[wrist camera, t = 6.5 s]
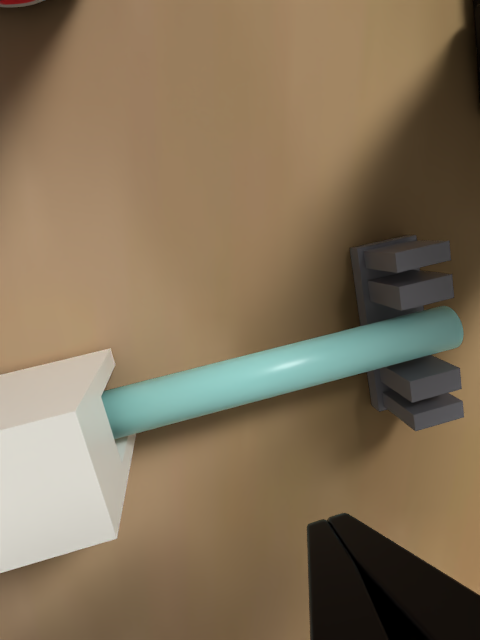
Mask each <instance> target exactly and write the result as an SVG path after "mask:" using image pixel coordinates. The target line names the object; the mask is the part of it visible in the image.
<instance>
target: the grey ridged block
mask: <svg viewBox="0 0 480 640" xmlns="http://www.w3.org/2000/svg"><path fill="white" fill-rule="evenodd" d="M350 254H351V261H352V268H353V276H354V283H355V290H356V297H357V304H358V311H359V318H360V326H364V325H368V324H372V323H376V322H379V321H383V320H387V319H391V318H395V317H399V316H403V315H407V314H411V313H415V312H419V311H423V310H424V307H423V305H427V304H431V303H435V302H439V301H443V300H447V299H451V298H454V291H453V279H452V274H445V273H437V272H429V271H421V270H420V267H424V266H428V265H432V264H437V263H441V262H445V261H449V260H451V255H450V242H449V241H417V238H416V235H405V236H401V237H396V238H392V239H387V240H383V241H379V242H374V243H370V244H365V245H361V246H357V247H352V248H350ZM367 376H368V383H369V390H370V397H371V404H372V406H373V407H374V408H375V409H377V410H378V411H379V412H380V411H383V410H387V409H388V410H389V411H390V412H392V413H393V414H394V415H396V416H397V417H398V418H399V419H401V420H402V421H403V422H404V423H406V424H407V425H408V426H409V427H411V428H412V429H413V430H415V431H418V430H421V429H425V428H428V427H432V426H435V425H439V424H442V423H445V422H449V421H452V420H456V419H459V418H463V417H464V412H463V401H462V400H460V399H458V398H456V397H454V396H453V395H451V394H449V392H452V391H456V390H459V389H462V388H461V376H460V368H459V367H456V366H454V365H452V364H450V363H447V362H445V361H443V360H441V359H438V358H436V357H434V356H432V355H428V356H424V357H421V358H417V359H413V360H409V361H406V362H402V363H398V364H394V365H391V366H387V367H383V368H379V369H376V370H372V371H368V372H367Z"/></svg>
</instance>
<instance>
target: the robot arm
mask: <svg viewBox="0 0 480 640" xmlns="http://www.w3.org/2000/svg"><path fill="white" fill-rule="evenodd" d="M474 14H475V31H476V47H477V64H478V80H479V97H480V0H474ZM307 548H308V580H309V612H310V640H480V595H479V594H477V593H475V592H474V591H472V590H470V589H469V588H467V587H466V586H464V585H462V584H461V583H459V582H457V581H456V580H454V579H453V578H451V577H449V576H448V575H446V574H445V573H443V572H441V571H440V570H438V569H436V568H435V567H433V566H432V565H430V564H428V563H427V562H425V561H424V560H422V559H420V558H419V557H417V556H415V555H414V554H412V553H411V552H409V551H407V550H406V549H404V548H402V547H401V546H399V545H398V544H396V543H394V542H393V541H391V540H390V539H388V538H386V537H385V536H383V535H381V534H380V533H378V532H377V531H375V530H373V529H372V528H370V527H368V526H367V525H365V524H364V523H362V522H360V521H359V520H357V519H356V518H354V517H352V516H351V515H349V514H347V513H342V514H338V515H335V516H332V517H329V518H328V520H324V519H322V520H319V521H316V522H313V523H310V524H308V525H307Z"/></svg>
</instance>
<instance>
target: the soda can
mask: <svg viewBox="0 0 480 640" xmlns="http://www.w3.org/2000/svg"><path fill="white" fill-rule="evenodd" d="M42 1H44V0H0V7H23V6H29V5H33V4H36V3H39V2H42Z"/></svg>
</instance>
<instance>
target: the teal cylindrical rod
mask: <svg viewBox="0 0 480 640" xmlns="http://www.w3.org/2000/svg"><path fill="white" fill-rule="evenodd" d="M462 341H463V327H462V324H461V321H460V319H459V317H458V315H457V314H456V313H455V312H454V310H452V309H451V308H450V307H448V306H439V307H435V308H431V309H427V310H423V311H419V312H415V313H411V314H407V315H403V316H399V317H395V318H391V319H387V320H383V321H379V322H376V323H372V324H368V325H364V326H360V327H356V328H352V329H348V330H344V331H340V332H336V333H332V334H328V335H324V336H320V337H316V338H312V339H308V340H304V341H300V342H296V343H292V344H288V345H284V346H280V347H276V348H272V349H268V350H264V351H260V352H257V353H253V354H249V355H245V356H241V357H237V358H233V359H229V360H225V361H221V362H217V363H213V364H209V365H205V366H201V367H197V368H193V369H189V370H185V371H181V372H177V373H173V374H169V375H165V376H161V377H157V378H153V379H149V380H145V381H141V382H137V383H134V384H130V385H126V386H122V387H118V388H114V389H110V390H106V391H103V394H102V396H101V398H102V401H103V404H104V408H105V411H106V414H107V417H108V420H109V424H110V427H111V430H112V433H113V437H114V439H117V438H121V437H125V436H129V435H132V434H136V433H140V432H144V431H147V430H151V429H155V428H159V427H162V426H166V425H170V424H174V423H177V422H181V421H185V420H188V419H192V418H196V417H200V416H203V415H207V414H211V413H215V412H218V411H222V410H226V409H230V408H233V407H237V406H241V405H245V404H248V403H252V402H256V401H260V400H263V399H267V398H271V397H275V396H278V395H282V394H286V393H290V392H293V391H297V390H301V389H305V388H308V387H312V386H316V385H319V384H323V383H327V382H331V381H334V380H338V379H342V378H346V377H349V376H353V375H357V374H361V373H364V372H368V371H372V370H376V369H379V368H383V367H387V366H391V365H394V364H398V363H402V362H406V361H409V360H413V359H417V358H421V357H424V356H428V355H432V354H436V353H439V352H443V351H447V350H450V349H454V348H457V347H459V346H460V345H461V343H462Z"/></svg>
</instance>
